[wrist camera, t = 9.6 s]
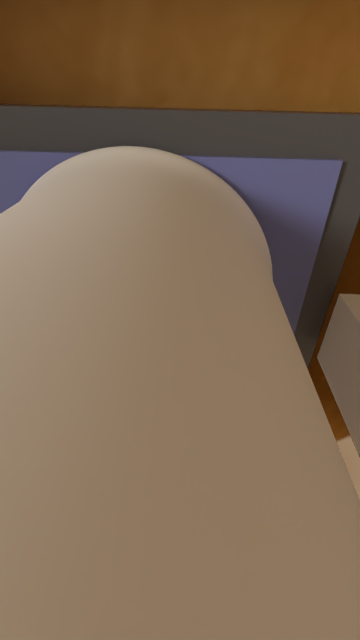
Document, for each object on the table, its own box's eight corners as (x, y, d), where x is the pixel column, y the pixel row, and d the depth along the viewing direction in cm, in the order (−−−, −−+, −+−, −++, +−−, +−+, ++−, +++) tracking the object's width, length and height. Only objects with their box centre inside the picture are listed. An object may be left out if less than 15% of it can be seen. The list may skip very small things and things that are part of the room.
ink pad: (40, 394, 16) (30, 414, 15) (-59, 102, 9) (-90, 103, 8) (284, 405, 16) (290, 426, 15) (375, 113, 9) (397, 115, 8)
